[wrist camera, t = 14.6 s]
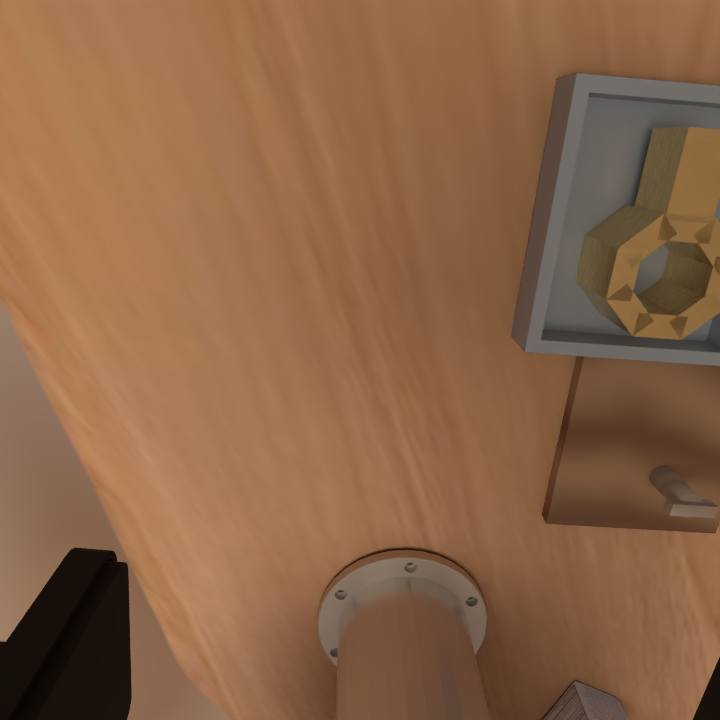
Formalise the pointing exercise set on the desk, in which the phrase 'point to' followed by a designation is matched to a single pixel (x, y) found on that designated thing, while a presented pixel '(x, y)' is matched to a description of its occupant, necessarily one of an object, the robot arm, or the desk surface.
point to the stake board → (638, 447)
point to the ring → (662, 240)
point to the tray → (602, 213)
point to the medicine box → (586, 705)
